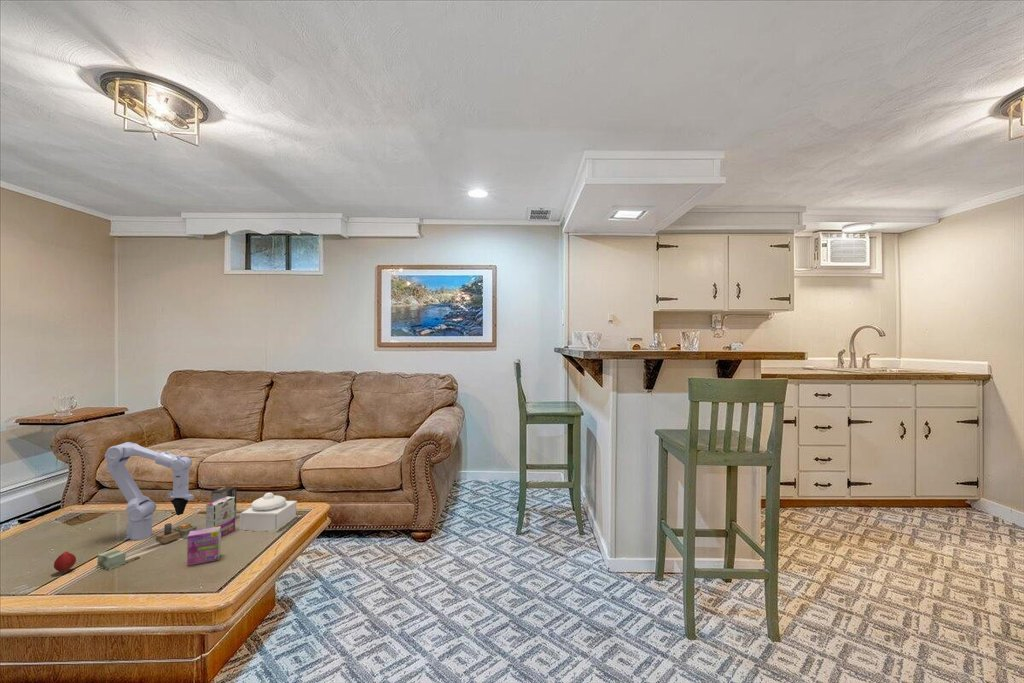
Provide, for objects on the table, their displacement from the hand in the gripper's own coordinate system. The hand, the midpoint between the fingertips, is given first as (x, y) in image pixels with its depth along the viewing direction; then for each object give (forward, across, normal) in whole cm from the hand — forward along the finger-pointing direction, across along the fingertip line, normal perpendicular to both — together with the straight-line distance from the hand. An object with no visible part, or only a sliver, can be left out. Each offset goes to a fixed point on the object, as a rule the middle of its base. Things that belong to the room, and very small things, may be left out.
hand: (179, 514), depth 195 cm
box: (+10, +34, -12) cm, 37 cm away
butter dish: (+10, +27, +24) cm, 37 cm away
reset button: (+8, +4, 0) cm, 9 cm away
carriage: (+8, +4, -7) cm, 11 cm away
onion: (+10, -7, -37) cm, 39 cm away
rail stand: (+10, +4, -14) cm, 17 cm away
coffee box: (+10, +2, +19) cm, 22 cm away
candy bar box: (+10, +18, +6) cm, 22 cm away
